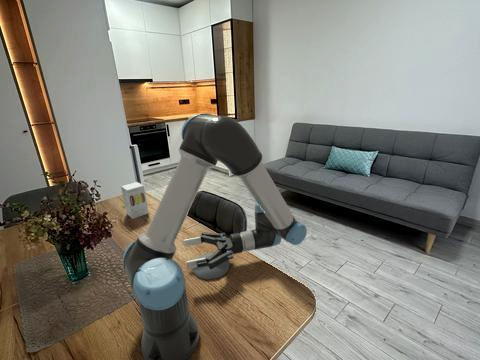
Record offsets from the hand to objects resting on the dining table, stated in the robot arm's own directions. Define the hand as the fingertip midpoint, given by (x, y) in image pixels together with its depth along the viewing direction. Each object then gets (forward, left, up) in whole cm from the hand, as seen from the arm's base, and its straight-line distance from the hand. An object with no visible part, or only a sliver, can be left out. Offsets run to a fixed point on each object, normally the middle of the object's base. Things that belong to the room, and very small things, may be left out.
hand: (185, 253), depth 93 cm
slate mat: (-2, -9, -8) cm, 12 cm away
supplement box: (+62, +7, -8) cm, 63 cm away
